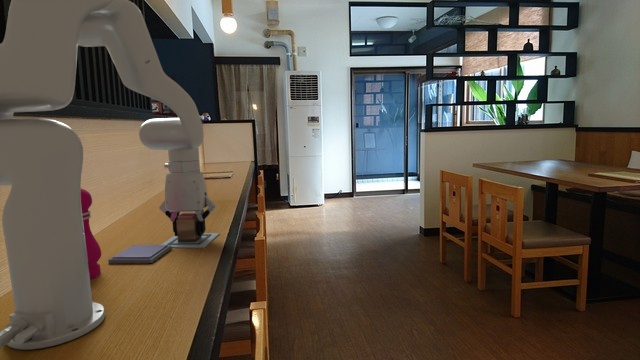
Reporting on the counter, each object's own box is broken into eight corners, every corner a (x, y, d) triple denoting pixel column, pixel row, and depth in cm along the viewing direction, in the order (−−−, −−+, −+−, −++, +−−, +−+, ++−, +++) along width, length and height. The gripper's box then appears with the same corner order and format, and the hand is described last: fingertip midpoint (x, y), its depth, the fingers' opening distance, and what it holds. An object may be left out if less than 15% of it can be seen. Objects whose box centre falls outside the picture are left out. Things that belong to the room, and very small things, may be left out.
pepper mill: (84, 284, 74) (72, 183, 71) (53, 281, 76) (40, 183, 73) (111, 270, 81) (101, 178, 78) (82, 268, 83) (72, 178, 80)
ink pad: (151, 263, 85) (151, 258, 84) (108, 263, 85) (108, 258, 85) (171, 249, 94) (171, 244, 94) (132, 249, 95) (132, 244, 95)
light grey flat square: (204, 247, 95) (204, 245, 95) (157, 247, 96) (157, 246, 96) (219, 234, 107) (219, 232, 107) (178, 234, 108) (177, 232, 107)
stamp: (195, 242, 99) (193, 216, 98) (178, 242, 99) (176, 216, 98) (201, 237, 103) (199, 212, 102) (185, 237, 104) (183, 212, 103)
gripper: (145, 169, 95) (151, 239, 98) (212, 168, 94) (216, 238, 97) (159, 166, 103) (165, 231, 105) (221, 165, 102) (225, 230, 104)
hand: (189, 234), depth 101 cm, fingers open, 5 cm apart
